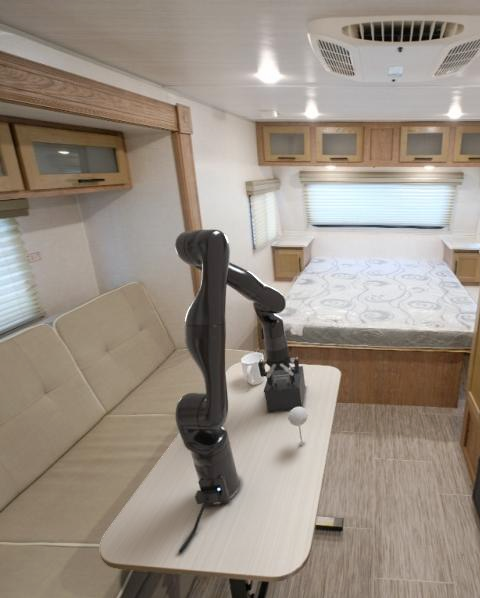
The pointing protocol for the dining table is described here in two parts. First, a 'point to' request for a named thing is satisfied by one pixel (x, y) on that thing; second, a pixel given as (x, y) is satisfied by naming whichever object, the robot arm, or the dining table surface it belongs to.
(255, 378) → the mug
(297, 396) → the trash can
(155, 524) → the dining table surface
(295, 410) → the lollipop
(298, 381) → the bin lid
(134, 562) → the dining table surface
